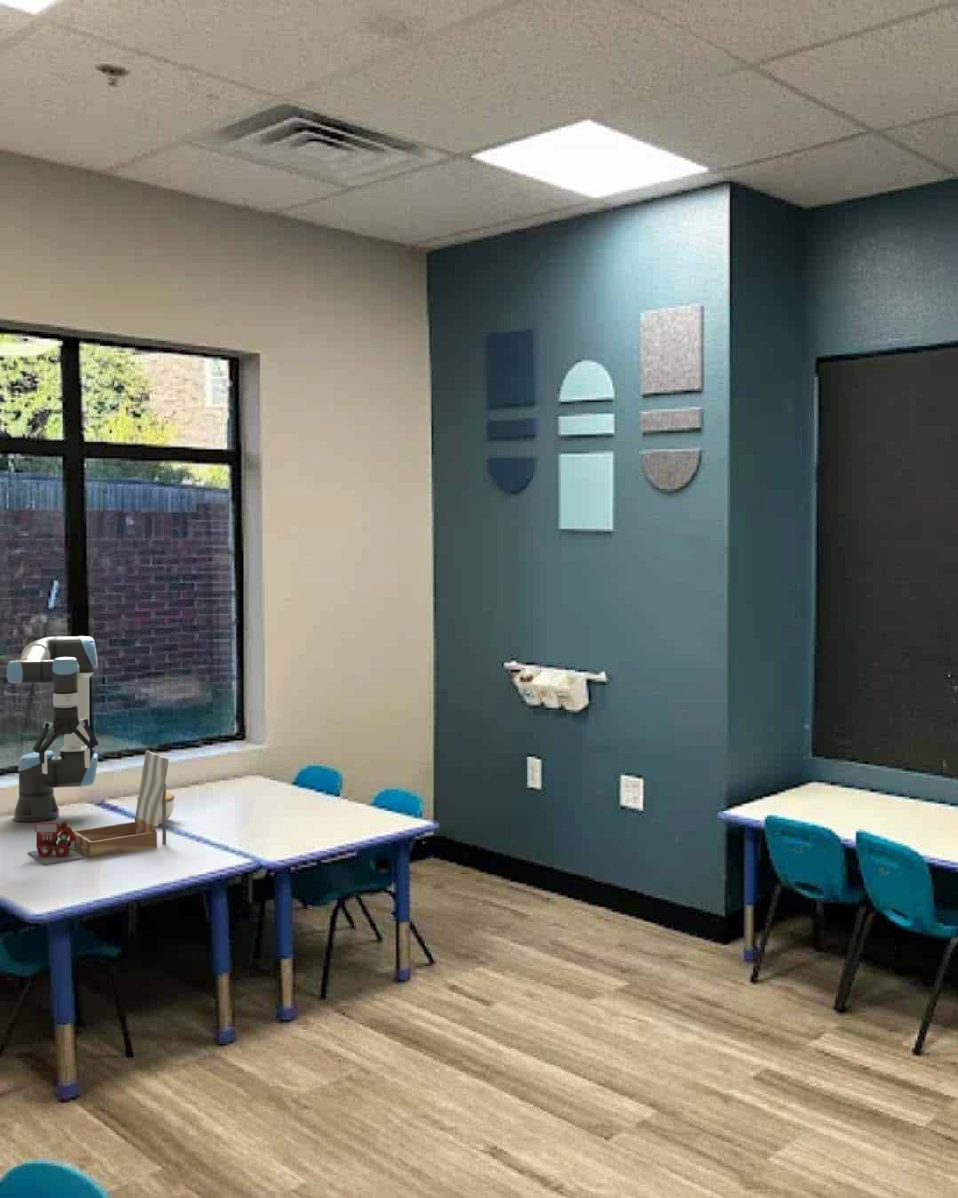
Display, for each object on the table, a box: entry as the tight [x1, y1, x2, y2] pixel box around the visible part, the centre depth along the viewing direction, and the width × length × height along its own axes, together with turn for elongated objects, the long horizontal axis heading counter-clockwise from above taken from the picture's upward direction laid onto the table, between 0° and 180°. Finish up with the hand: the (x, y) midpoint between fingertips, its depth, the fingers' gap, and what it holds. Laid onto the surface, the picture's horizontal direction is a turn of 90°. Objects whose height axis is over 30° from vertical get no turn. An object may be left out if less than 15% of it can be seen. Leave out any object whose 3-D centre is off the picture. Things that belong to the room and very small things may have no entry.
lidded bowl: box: [136, 792, 175, 825], centre depth 410 cm, size 13×13×11 cm
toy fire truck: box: [34, 820, 77, 857], centre depth 365 cm, size 7×12×10 cm, turn 99°
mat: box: [27, 849, 84, 866], centre depth 365 cm, size 16×12×1 cm
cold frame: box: [72, 750, 170, 859], centre depth 378 cm, size 17×26×29 cm, turn 129°
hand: (66, 770), depth 373 cm, fingers open, 13 cm apart
